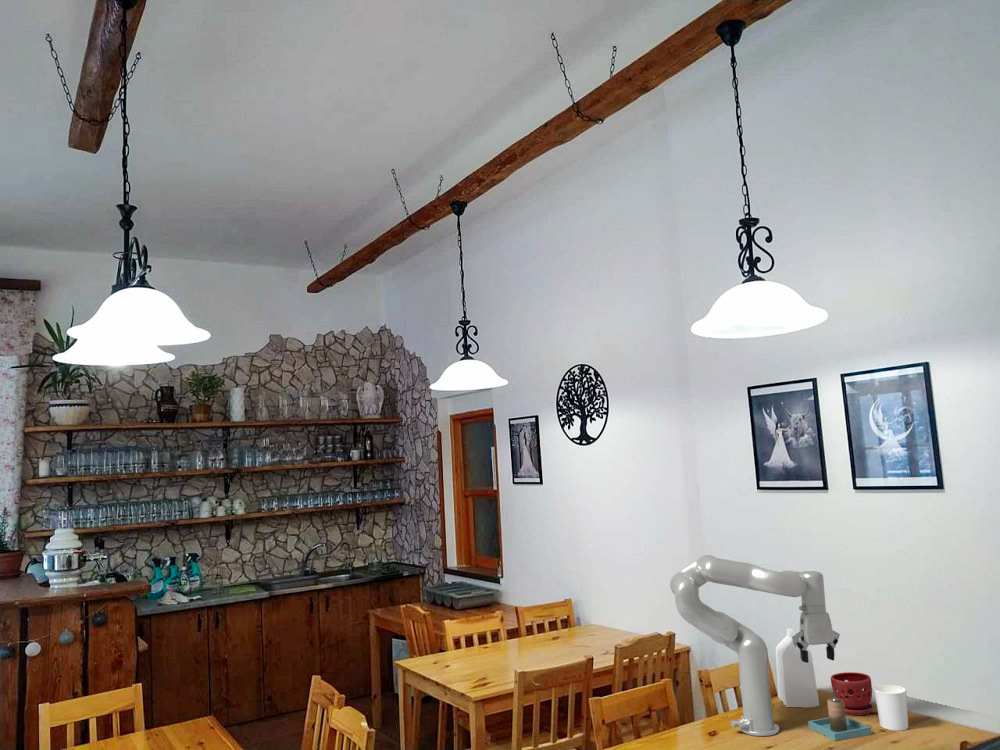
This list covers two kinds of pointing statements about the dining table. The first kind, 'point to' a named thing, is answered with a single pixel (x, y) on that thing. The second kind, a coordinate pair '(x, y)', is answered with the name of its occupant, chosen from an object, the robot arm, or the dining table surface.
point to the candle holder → (892, 707)
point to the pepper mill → (837, 715)
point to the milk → (795, 675)
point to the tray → (852, 731)
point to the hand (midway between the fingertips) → (817, 660)
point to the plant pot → (853, 692)
